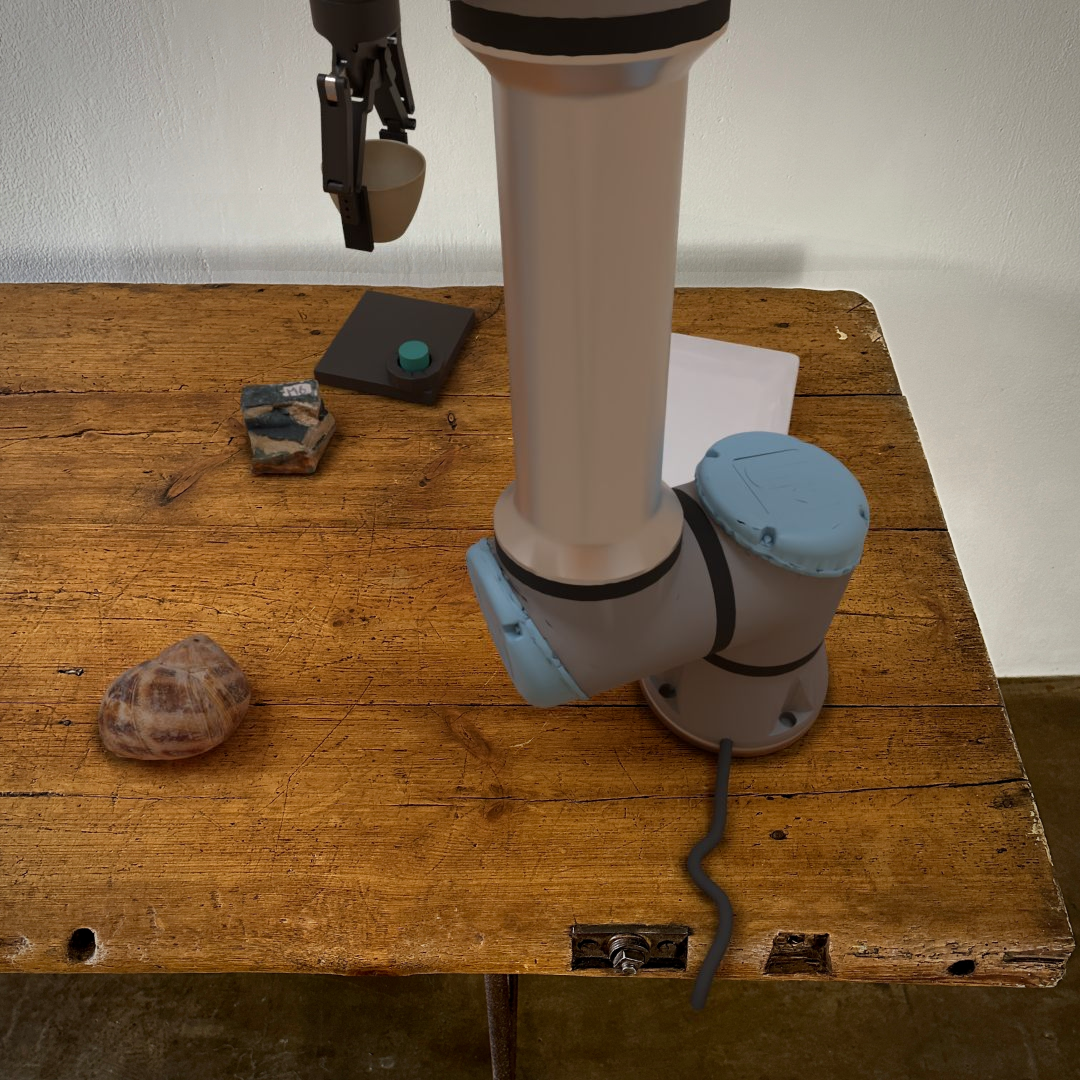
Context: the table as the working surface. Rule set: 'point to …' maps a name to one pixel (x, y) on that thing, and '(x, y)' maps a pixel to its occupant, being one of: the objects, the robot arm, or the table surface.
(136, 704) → the seashell
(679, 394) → the tray
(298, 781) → the table surface
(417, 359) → the button
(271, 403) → the rock
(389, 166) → the beige bowl
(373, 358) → the black button board
